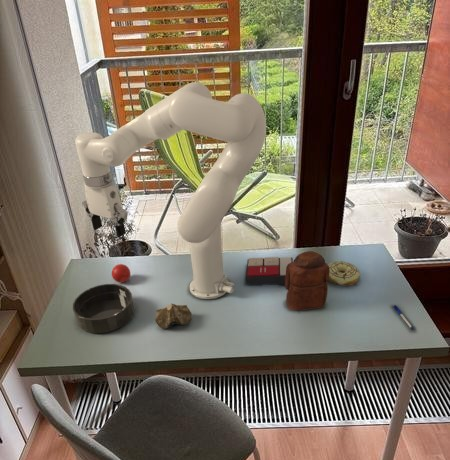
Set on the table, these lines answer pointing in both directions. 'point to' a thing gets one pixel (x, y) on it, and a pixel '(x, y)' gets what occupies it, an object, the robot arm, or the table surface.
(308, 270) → the wooden figurine
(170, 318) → the fossilized seashell
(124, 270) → the red ball
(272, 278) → the miniature drawer cabinet
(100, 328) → the bowl
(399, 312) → the ballpoint pen
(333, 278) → the decorated donut
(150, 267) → the table surface
